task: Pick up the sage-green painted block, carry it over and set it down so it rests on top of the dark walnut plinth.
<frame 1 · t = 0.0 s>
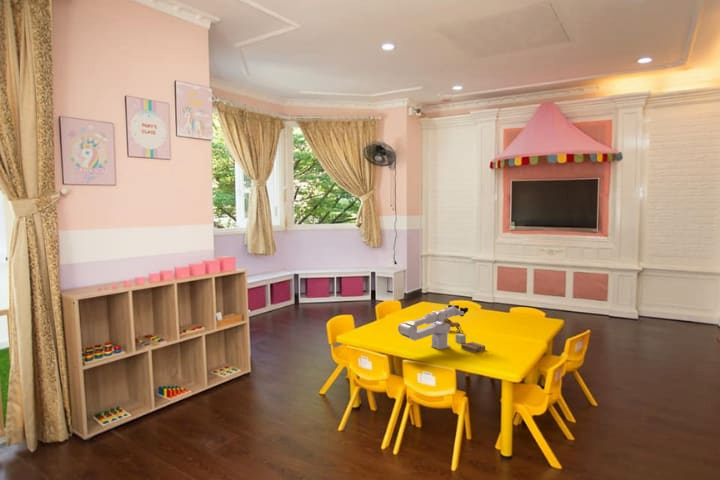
hand: (463, 308, 287), 22 cm above the table, tool horizontal, fingers open, 7 cm apart
sage block: (460, 342, 286), on the table
walnut plinth: (473, 350, 273), on the table
lion figurine: (452, 331, 312), on the table
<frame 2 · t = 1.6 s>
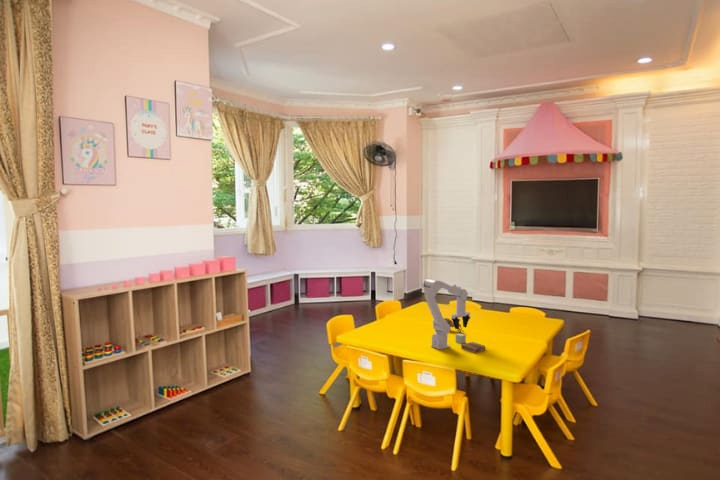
hand: (460, 328, 286), 9 cm above the table, tool pointing down, fingers open, 7 cm apart
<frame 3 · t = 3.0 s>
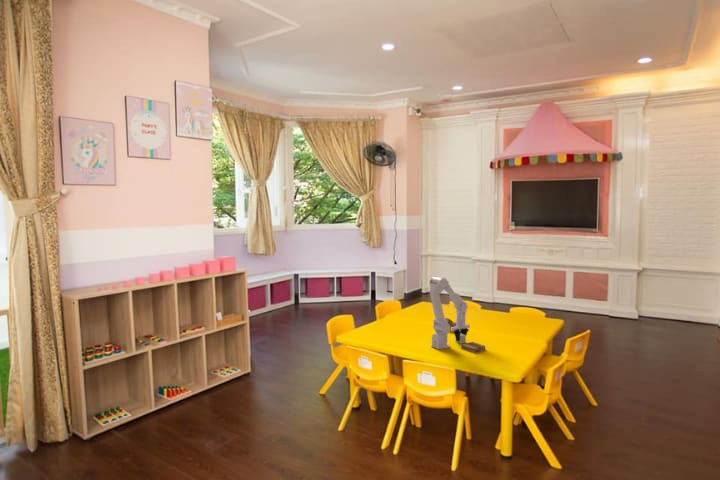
hand: (460, 340, 286), 1 cm above the table, tool pointing down, fingers closed on sage block, 4 cm apart
sage block: (460, 342, 286), on the table, touching gripper
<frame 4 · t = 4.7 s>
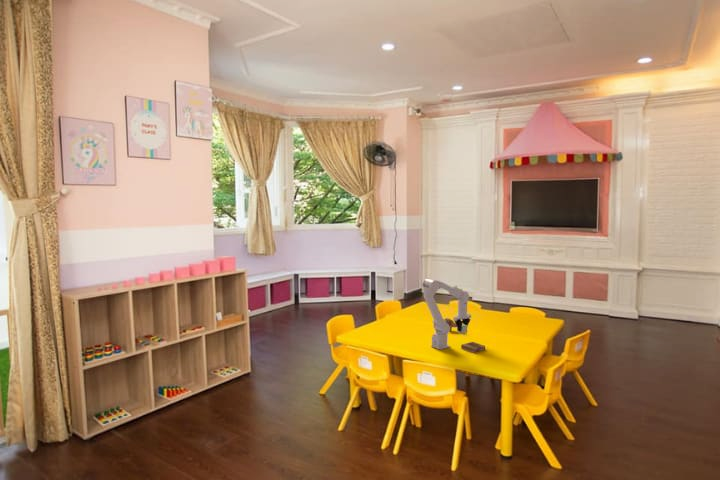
hand: (462, 330, 284), 8 cm above the table, tool pointing down, fingers closed on sage block, 4 cm apart
sage block: (462, 332, 284), point 7 cm above the table, touching gripper
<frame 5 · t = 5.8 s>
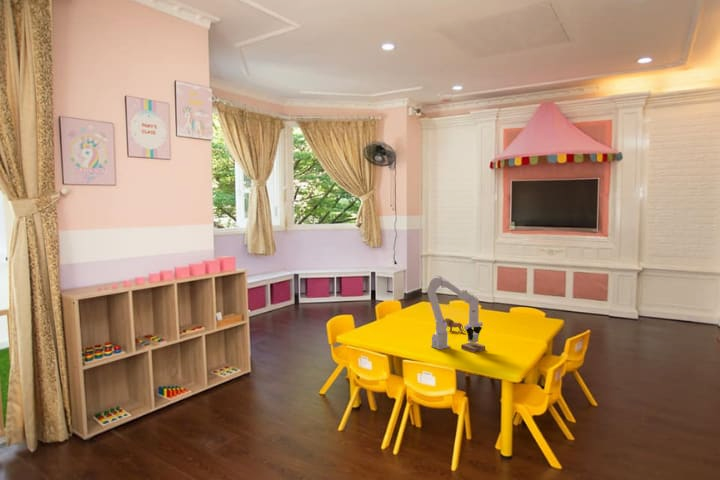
hand: (473, 338, 272), 7 cm above the table, tool pointing down, fingers closed on sage block, 4 cm apart
sage block: (473, 341, 272), point 5 cm above the table, touching gripper
when the fingers open (6 cm above the table, at t = 6.4 s): sage block drops 2 cm, point 2 cm above the table.
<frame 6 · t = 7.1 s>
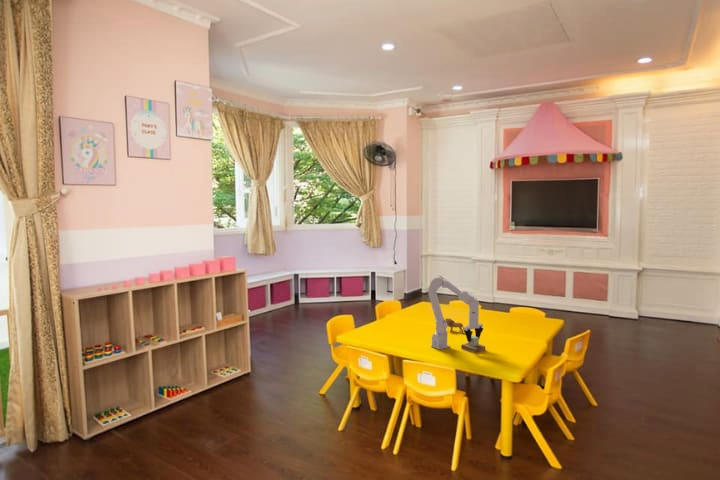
hand: (473, 340, 272), 6 cm above the table, tool pointing down, fingers open, 7 cm apart
sage block: (473, 345, 273), point 2 cm above the table
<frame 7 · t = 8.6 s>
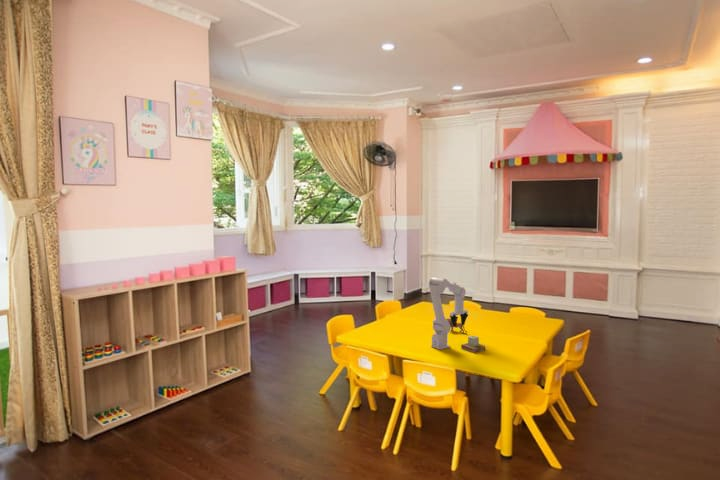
hand: (458, 325, 291), 9 cm above the table, tool pointing down, fingers open, 7 cm apart
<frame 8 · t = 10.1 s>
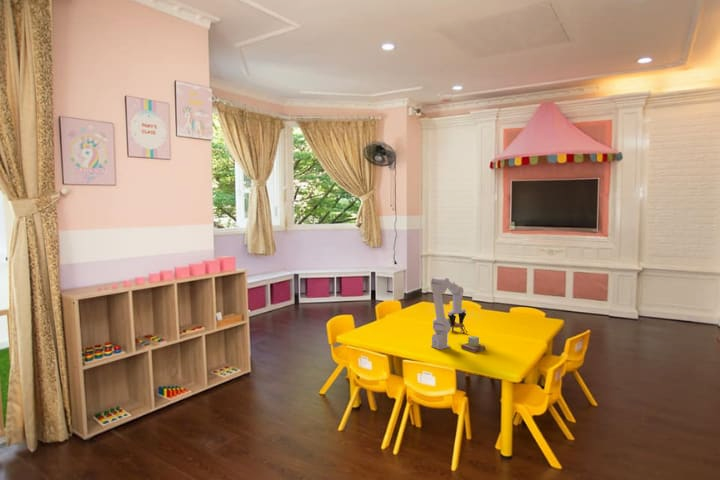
hand: (456, 324, 294), 9 cm above the table, tool pointing down, fingers open, 7 cm apart
at the end: sage block inside the target area on the walnut plinth (0.2 cm from its centre), point 3.0 cm above the walnut plinth's base; sage block tilted 0°; the gripper is holding nothing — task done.
